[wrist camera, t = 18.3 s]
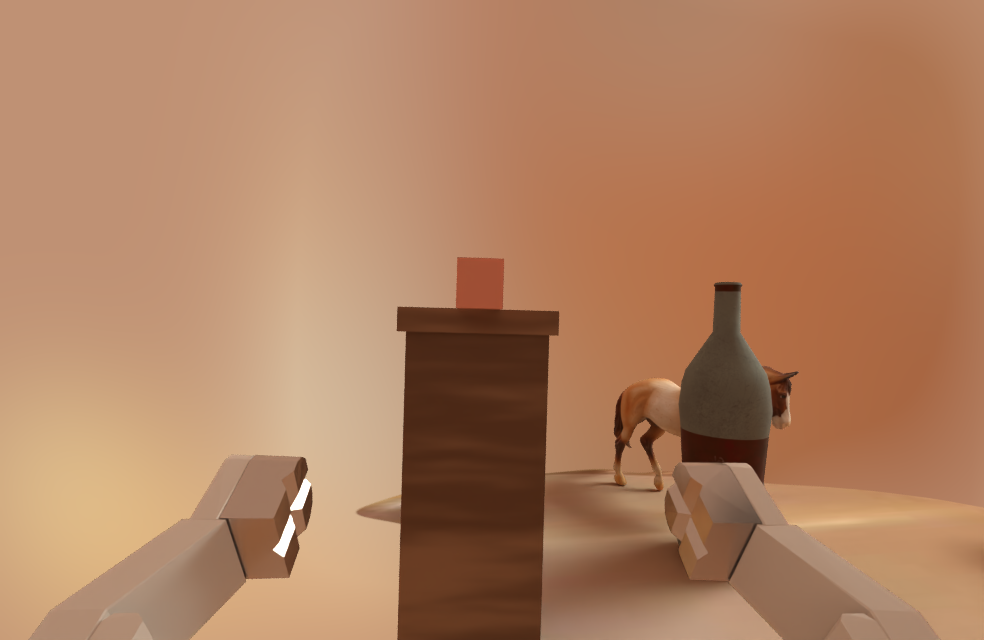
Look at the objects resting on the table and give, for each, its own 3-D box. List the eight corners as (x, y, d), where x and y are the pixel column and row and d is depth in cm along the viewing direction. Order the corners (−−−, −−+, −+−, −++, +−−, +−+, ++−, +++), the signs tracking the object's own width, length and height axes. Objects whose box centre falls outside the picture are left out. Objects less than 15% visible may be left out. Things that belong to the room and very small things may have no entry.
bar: (502, 308, 27) (504, 258, 27) (456, 307, 27) (457, 257, 27) (488, 312, 49) (489, 284, 49) (462, 311, 49) (463, 283, 49)
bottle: (743, 541, 58) (751, 286, 58) (786, 582, 49) (796, 280, 49) (663, 537, 59) (670, 284, 58) (690, 577, 49) (699, 278, 49)
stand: (546, 726, 31) (559, 311, 31) (385, 728, 30) (397, 306, 30) (522, 598, 45) (530, 313, 45) (411, 598, 44) (419, 309, 44)
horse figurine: (798, 544, 58) (804, 368, 58) (753, 556, 54) (759, 370, 54) (622, 467, 86) (626, 349, 86) (586, 472, 83) (589, 350, 82)
